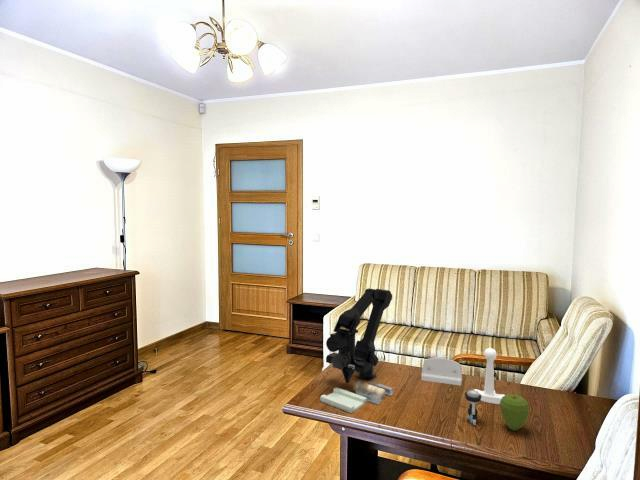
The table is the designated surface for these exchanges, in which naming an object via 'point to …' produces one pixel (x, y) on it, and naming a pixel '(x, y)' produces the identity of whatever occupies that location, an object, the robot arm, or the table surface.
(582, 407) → the table surface
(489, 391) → the joystick
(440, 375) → the gray wall bracket
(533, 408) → the table surface
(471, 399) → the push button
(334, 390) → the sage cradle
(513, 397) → the apple
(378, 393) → the maple axle
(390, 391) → the steel guide
